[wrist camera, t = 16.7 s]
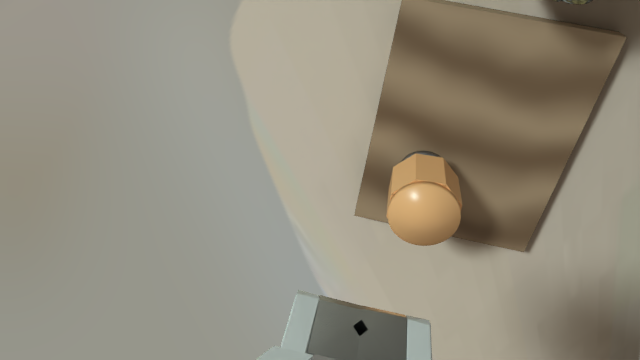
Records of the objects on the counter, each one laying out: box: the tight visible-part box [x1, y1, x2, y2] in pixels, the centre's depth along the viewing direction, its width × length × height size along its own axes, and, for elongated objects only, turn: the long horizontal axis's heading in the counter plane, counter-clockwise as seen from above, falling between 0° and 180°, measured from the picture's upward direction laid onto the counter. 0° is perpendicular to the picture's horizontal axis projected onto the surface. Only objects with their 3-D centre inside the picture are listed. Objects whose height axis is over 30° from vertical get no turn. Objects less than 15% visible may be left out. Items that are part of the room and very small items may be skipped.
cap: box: [386, 153, 462, 246], centre depth 38 cm, size 5×5×5 cm
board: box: [355, 0, 627, 252], centre depth 40 cm, size 20×16×2 cm
